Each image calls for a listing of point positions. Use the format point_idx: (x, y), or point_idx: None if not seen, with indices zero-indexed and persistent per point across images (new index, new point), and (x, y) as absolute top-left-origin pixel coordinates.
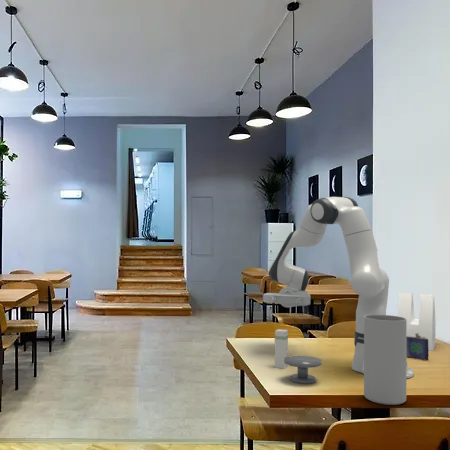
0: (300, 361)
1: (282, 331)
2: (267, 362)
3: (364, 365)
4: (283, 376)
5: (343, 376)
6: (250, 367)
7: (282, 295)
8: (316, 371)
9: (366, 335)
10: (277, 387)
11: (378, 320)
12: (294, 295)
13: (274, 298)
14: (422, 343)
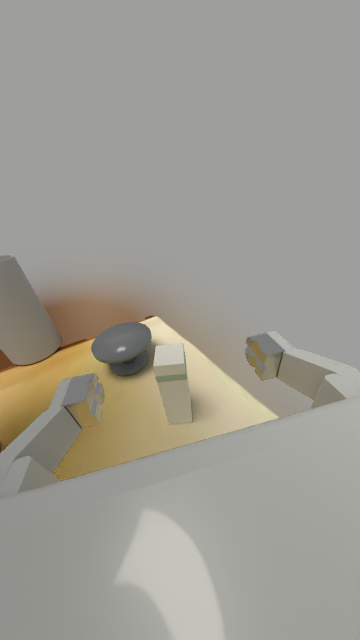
0: (125, 331)
1: (162, 345)
2: (224, 432)
3: (46, 314)
4: None
5: None
6: (229, 377)
7: (254, 425)
8: (104, 417)
9: (26, 278)
10: (156, 329)
11: (6, 255)
12: (61, 505)
13: (255, 335)
14: None
